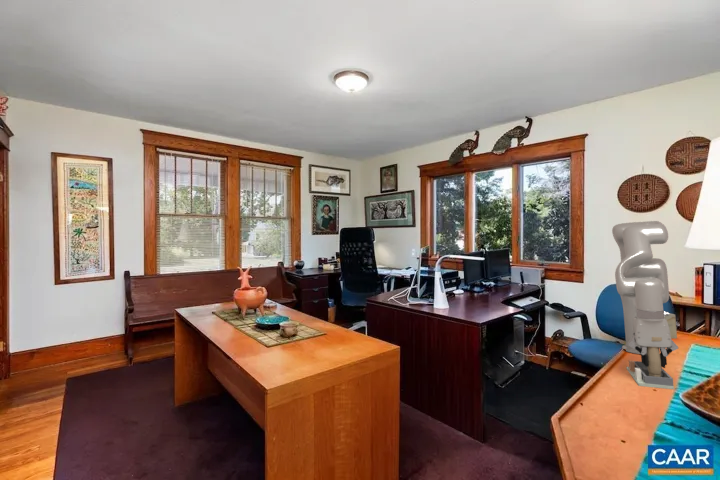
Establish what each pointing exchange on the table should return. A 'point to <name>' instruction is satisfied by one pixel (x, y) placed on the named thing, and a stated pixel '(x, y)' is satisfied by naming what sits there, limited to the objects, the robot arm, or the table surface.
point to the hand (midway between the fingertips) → (654, 365)
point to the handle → (654, 359)
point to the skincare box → (672, 325)
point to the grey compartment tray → (643, 378)
